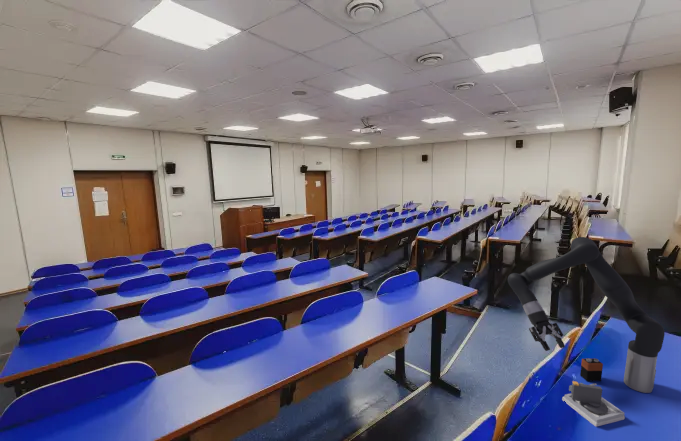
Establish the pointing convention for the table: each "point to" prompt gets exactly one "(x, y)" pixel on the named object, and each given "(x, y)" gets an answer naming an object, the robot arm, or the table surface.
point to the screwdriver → (579, 383)
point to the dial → (589, 397)
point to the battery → (591, 369)
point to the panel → (596, 419)
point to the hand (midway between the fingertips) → (555, 348)
